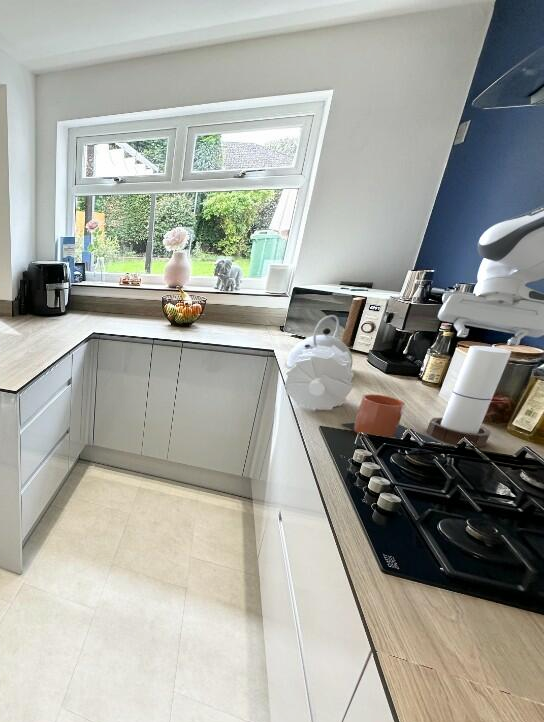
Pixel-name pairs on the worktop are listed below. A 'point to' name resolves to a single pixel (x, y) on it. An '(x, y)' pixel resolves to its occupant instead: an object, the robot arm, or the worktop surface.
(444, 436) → the holder ring
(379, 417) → the terracotta cup
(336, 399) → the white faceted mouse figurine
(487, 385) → the cylindrical container
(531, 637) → the worktop surface
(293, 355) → the kettle
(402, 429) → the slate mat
